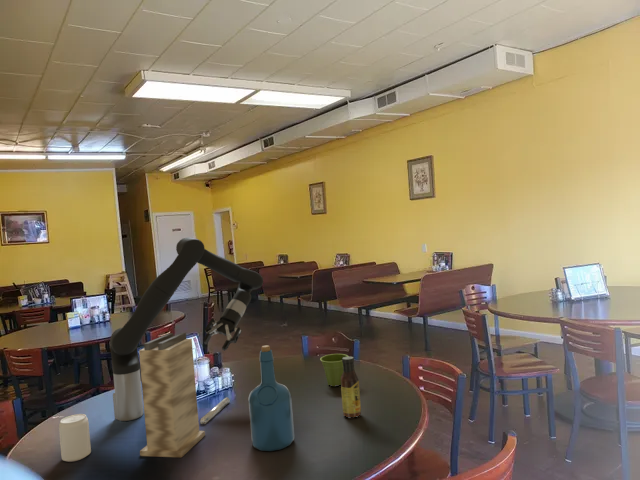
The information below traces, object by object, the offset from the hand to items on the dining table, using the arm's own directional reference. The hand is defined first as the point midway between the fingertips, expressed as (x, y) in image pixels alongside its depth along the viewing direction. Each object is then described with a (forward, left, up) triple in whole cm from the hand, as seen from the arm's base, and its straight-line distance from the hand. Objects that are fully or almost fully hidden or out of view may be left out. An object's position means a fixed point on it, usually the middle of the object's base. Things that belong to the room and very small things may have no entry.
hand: (214, 346), depth 186 cm
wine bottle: (+35, -35, -22) cm, 54 cm away
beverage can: (-25, -48, -22) cm, 58 cm away
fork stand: (+3, -38, -22) cm, 44 cm away
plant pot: (+44, +19, -22) cm, 53 cm away
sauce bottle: (+56, -13, -22) cm, 62 cm away
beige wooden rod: (+4, -12, -21) cm, 24 cm away
